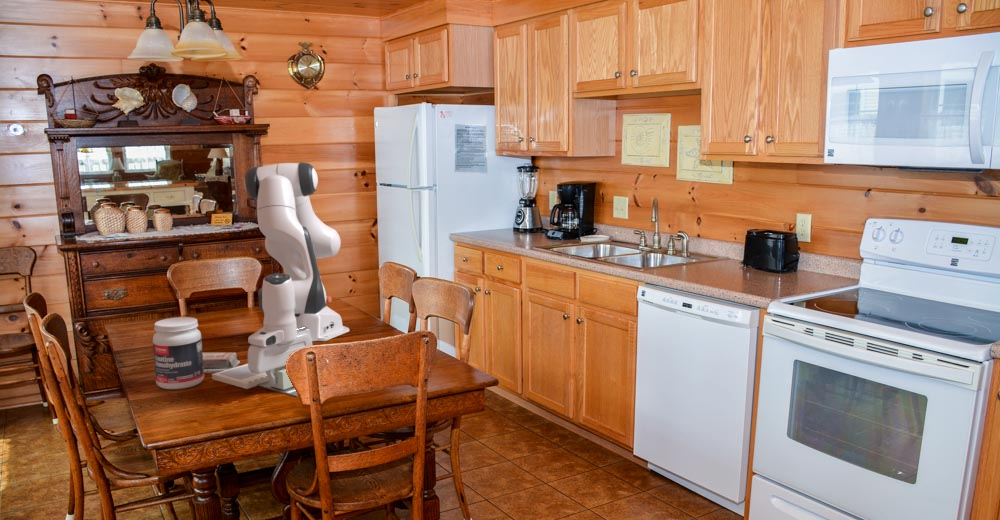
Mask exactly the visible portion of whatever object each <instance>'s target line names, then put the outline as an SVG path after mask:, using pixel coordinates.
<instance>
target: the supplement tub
mask: <svg viewBox="0 0 1000 520" xmlns="http://www.w3.org/2000/svg"><path fill="white" fill-rule="evenodd" d="M198 327H199V323H198V319H197V318H195V317H191V316H178V317H176V316H175V317H170V318H164V319H161V320H158V321H156V322H155V323H154V331H156V332H155V333H154V334H153V336H152V347H153V348H152V349H153V360H154V372H155V384H156V385H157V386H158V387H159V388H161V389H165V390H184V389H187V388H188V389H189V388H192V387H194V386H197V385H199V384H200V383H202V382H203V380H204V378H205V373H204V368H203V354H202V353H203V342H202V341H203V340H202V339H203V338H202V333H201V331H200V330H199V329H198Z"/></svg>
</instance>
